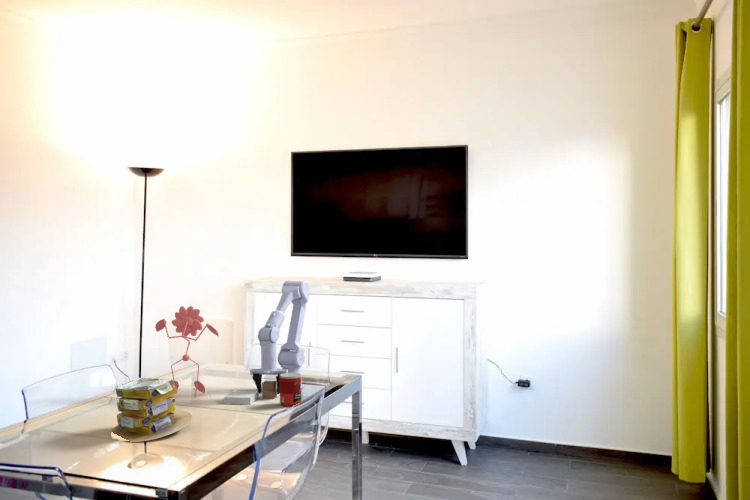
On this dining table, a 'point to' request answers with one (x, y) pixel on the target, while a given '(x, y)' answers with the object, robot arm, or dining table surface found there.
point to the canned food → (290, 389)
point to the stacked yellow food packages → (148, 410)
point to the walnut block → (269, 389)
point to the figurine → (187, 324)
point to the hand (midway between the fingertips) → (269, 393)
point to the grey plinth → (241, 397)
